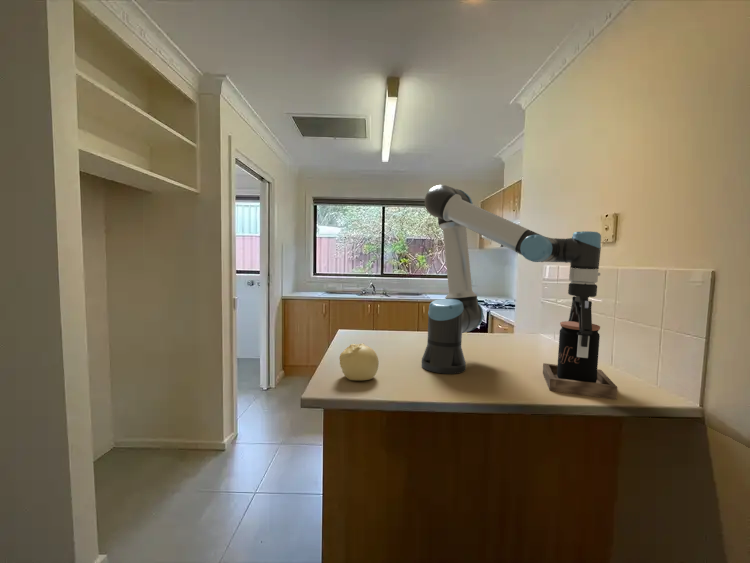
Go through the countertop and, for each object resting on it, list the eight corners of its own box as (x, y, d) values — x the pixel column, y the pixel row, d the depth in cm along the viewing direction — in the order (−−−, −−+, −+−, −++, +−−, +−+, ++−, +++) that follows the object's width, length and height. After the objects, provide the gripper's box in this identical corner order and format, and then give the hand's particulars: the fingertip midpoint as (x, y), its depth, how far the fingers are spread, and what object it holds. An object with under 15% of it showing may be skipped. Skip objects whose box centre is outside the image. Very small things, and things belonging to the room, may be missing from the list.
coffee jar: (549, 375, 116) (553, 320, 114) (581, 376, 116) (585, 321, 115) (569, 388, 105) (573, 327, 104) (604, 388, 106) (608, 328, 104)
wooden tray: (549, 390, 105) (550, 378, 105) (542, 373, 121) (543, 363, 121) (616, 399, 100) (617, 387, 100) (600, 380, 116) (600, 369, 116)
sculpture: (347, 370, 119) (348, 338, 118) (382, 374, 115) (383, 341, 114) (333, 381, 108) (334, 346, 107) (371, 386, 104) (372, 350, 103)
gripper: (609, 286, 96) (602, 364, 97) (587, 281, 119) (582, 343, 121) (577, 284, 98) (571, 360, 100) (562, 279, 121) (557, 341, 123)
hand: (577, 351), depth 110 cm, fingers open, 13 cm apart
